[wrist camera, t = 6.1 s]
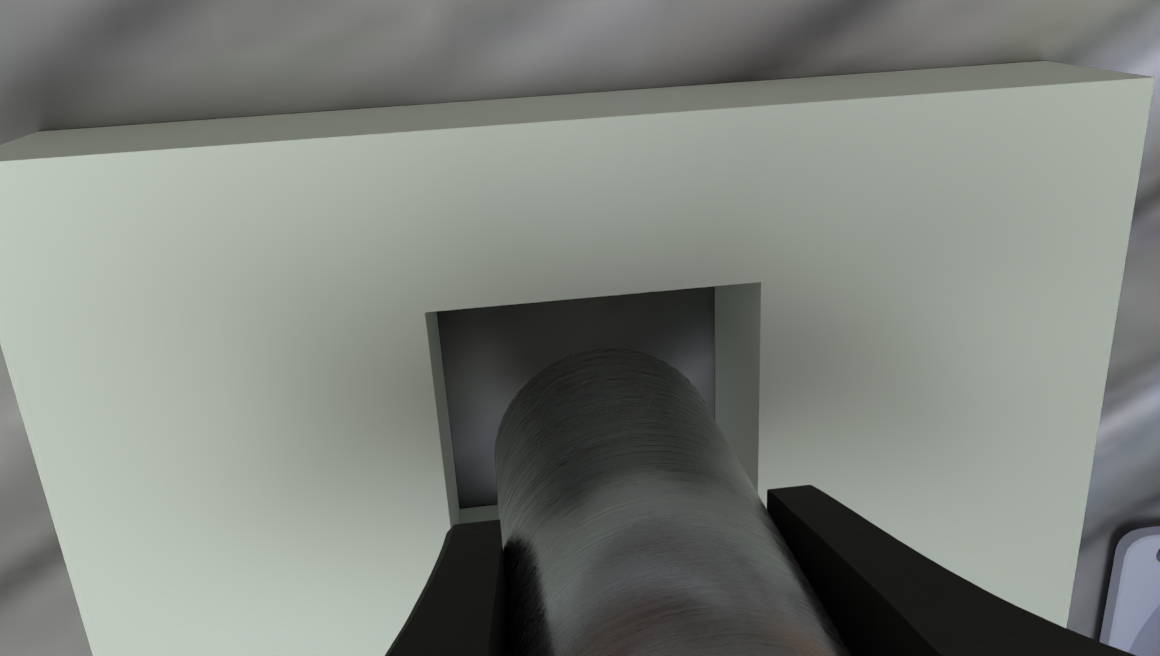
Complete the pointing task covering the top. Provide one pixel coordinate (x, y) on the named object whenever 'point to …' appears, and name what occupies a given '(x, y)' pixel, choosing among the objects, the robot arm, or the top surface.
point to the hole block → (549, 273)
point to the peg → (640, 524)
